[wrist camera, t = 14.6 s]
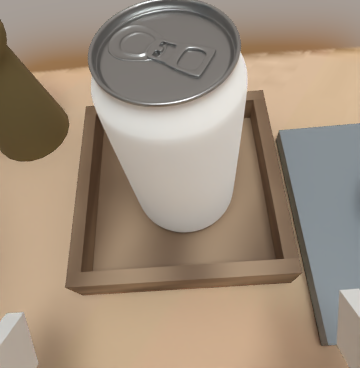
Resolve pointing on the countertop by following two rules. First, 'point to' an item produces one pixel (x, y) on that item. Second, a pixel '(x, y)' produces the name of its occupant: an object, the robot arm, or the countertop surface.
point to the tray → (180, 241)
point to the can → (172, 106)
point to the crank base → (325, 212)
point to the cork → (26, 111)
